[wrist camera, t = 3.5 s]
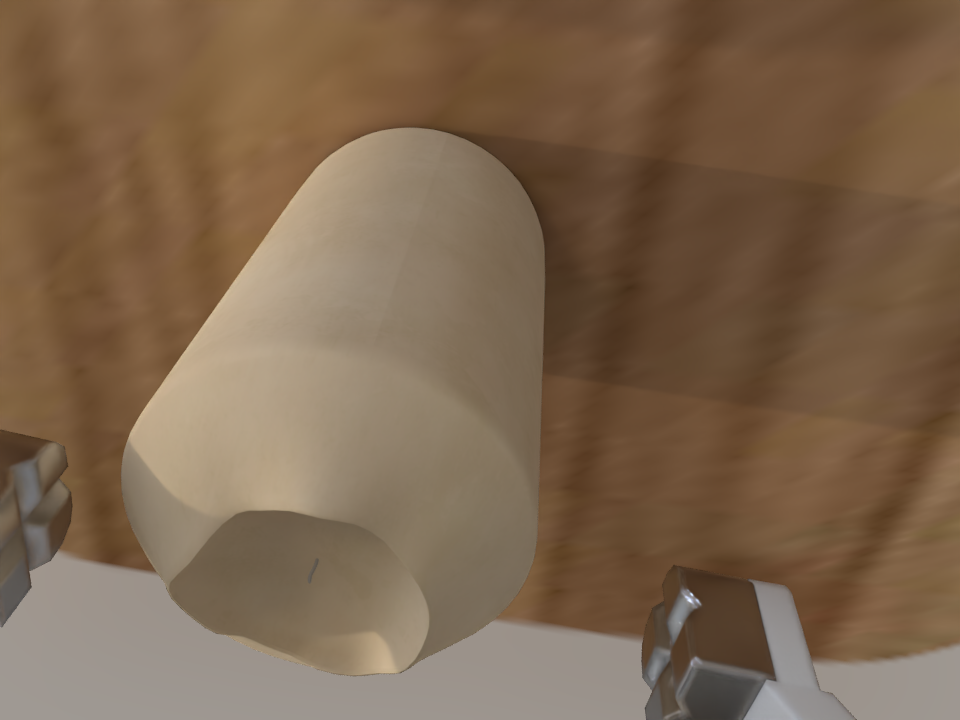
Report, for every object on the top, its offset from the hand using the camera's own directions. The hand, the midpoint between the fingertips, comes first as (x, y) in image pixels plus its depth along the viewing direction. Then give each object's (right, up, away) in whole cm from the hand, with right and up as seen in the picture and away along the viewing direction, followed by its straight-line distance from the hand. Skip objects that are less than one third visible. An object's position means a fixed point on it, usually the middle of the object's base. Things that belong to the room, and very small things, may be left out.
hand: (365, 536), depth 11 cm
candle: (0, +5, +7) cm, 9 cm away
